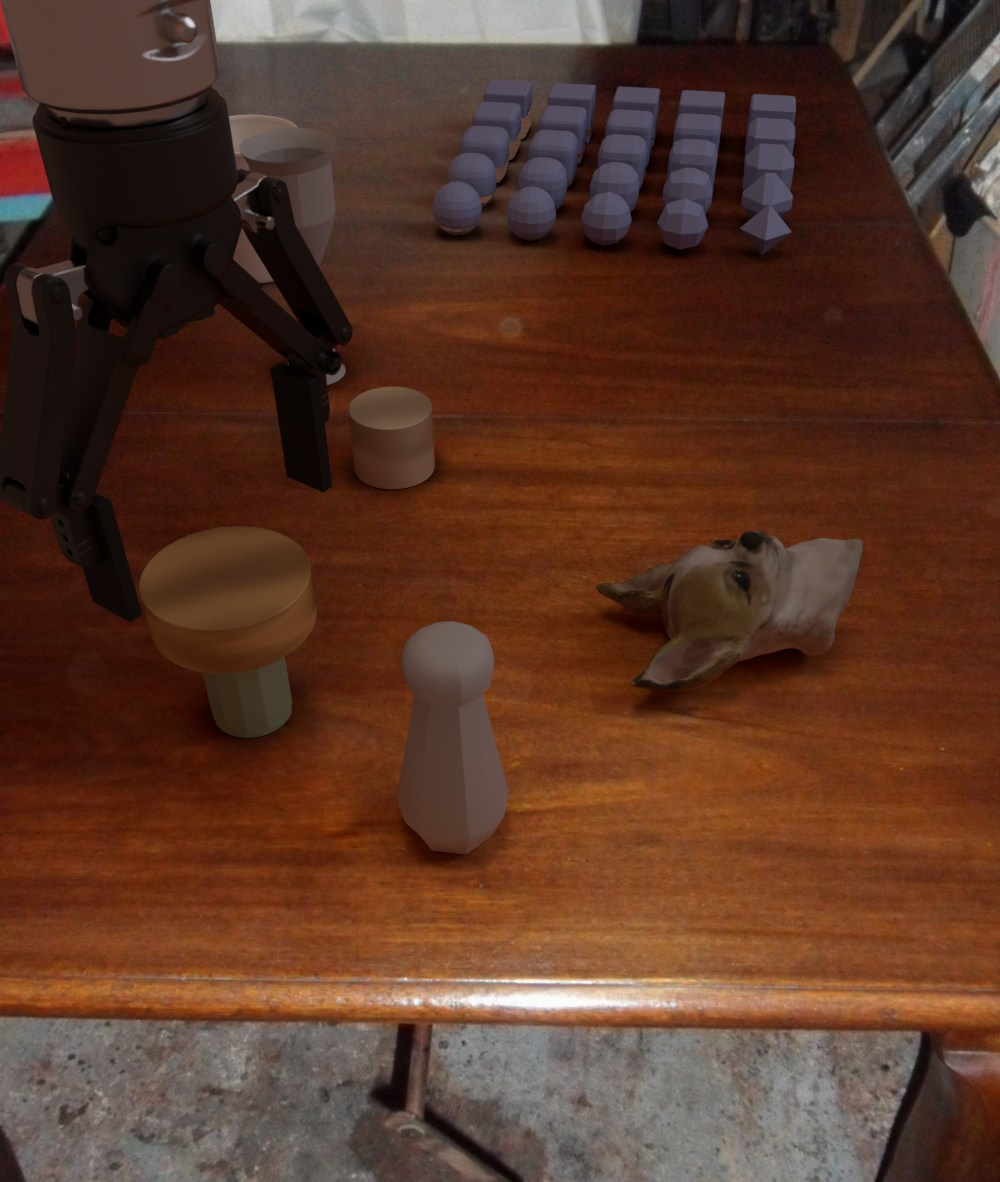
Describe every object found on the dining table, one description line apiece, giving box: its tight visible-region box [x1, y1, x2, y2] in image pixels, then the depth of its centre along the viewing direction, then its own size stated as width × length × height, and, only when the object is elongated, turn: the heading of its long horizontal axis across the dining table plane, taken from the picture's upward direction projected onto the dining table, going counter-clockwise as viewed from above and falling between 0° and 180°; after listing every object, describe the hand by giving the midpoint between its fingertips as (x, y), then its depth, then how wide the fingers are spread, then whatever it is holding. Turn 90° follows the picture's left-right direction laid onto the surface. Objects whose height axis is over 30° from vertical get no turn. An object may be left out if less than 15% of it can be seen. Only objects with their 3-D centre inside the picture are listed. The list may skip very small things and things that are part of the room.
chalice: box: [239, 127, 347, 386], centre depth 93 cm, size 7×7×18 cm
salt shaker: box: [395, 620, 510, 855], centre depth 59 cm, size 6×6×13 cm
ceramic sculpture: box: [595, 530, 864, 692], centre depth 71 cm, size 11×9×15 cm
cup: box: [202, 656, 293, 739], centre depth 67 cm, size 5×5×7 cm
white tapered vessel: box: [229, 114, 299, 284], centre depth 109 cm, size 10×10×12 cm
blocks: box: [432, 78, 797, 256], centre depth 126 cm, size 35×34×5 cm
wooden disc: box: [138, 525, 318, 674], centre depth 64 cm, size 9×9×3 cm
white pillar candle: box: [348, 386, 436, 490], centre depth 87 cm, size 6×6×5 cm
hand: (219, 541), depth 61 cm, fingers open, 13 cm apart
